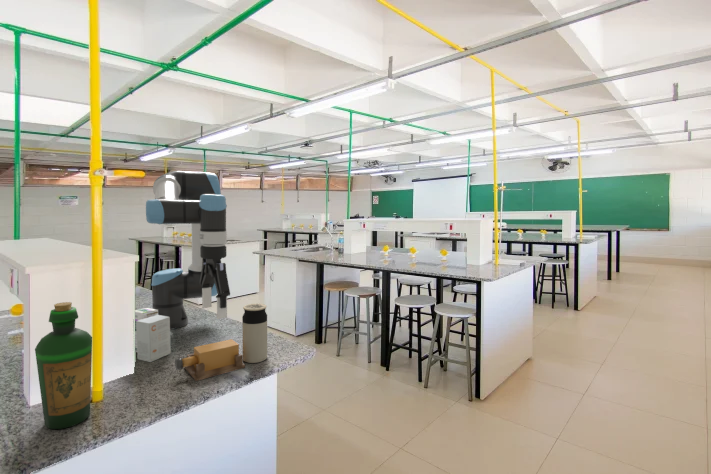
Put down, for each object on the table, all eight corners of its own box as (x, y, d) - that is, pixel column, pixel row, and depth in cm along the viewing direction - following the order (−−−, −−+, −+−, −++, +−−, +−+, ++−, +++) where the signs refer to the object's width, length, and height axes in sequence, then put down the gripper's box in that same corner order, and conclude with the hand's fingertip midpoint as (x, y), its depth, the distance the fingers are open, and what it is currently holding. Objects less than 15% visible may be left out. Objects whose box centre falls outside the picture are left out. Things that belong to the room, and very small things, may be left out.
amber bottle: (231, 356, 124) (231, 339, 124) (238, 362, 120) (238, 344, 119) (174, 370, 113) (173, 351, 113) (179, 378, 108) (178, 358, 108)
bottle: (65, 437, 82) (59, 312, 80) (26, 430, 84) (19, 308, 82) (106, 411, 92) (102, 299, 90) (71, 405, 95) (66, 296, 92)
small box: (157, 350, 131) (156, 314, 130) (171, 353, 128) (170, 316, 127) (136, 359, 123) (135, 320, 122) (150, 362, 121) (149, 323, 120)
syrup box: (133, 351, 129) (131, 310, 128) (149, 346, 134) (148, 306, 133) (144, 355, 127) (142, 313, 125) (159, 349, 132) (158, 309, 131)
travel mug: (258, 365, 120) (258, 310, 119) (237, 361, 123) (237, 307, 122) (271, 356, 128) (271, 304, 126) (252, 352, 130) (252, 302, 129)
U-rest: (195, 381, 109) (195, 367, 108) (184, 367, 117) (184, 354, 117) (244, 367, 118) (244, 354, 118) (231, 356, 127) (231, 344, 127)
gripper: (188, 241, 122) (189, 305, 124) (215, 250, 103) (216, 325, 105) (212, 240, 127) (212, 301, 129) (241, 248, 107) (241, 320, 109)
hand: (214, 312), depth 117 cm, fingers open, 13 cm apart
